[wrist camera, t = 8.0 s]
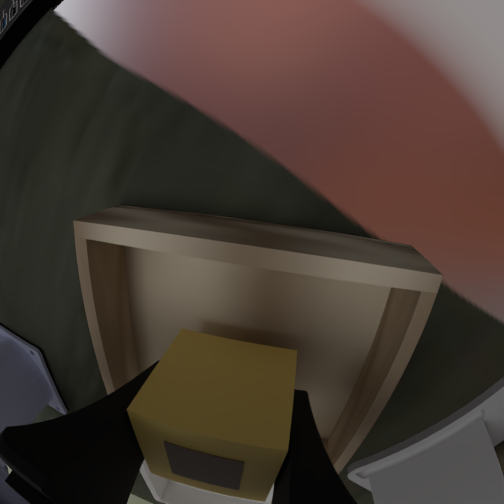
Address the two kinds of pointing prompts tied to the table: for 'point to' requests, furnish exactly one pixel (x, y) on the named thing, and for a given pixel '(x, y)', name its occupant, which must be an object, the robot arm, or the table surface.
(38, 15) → the multiport hub
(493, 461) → the phone holder
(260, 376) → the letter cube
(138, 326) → the birch box
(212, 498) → the white tub
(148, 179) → the table surface
